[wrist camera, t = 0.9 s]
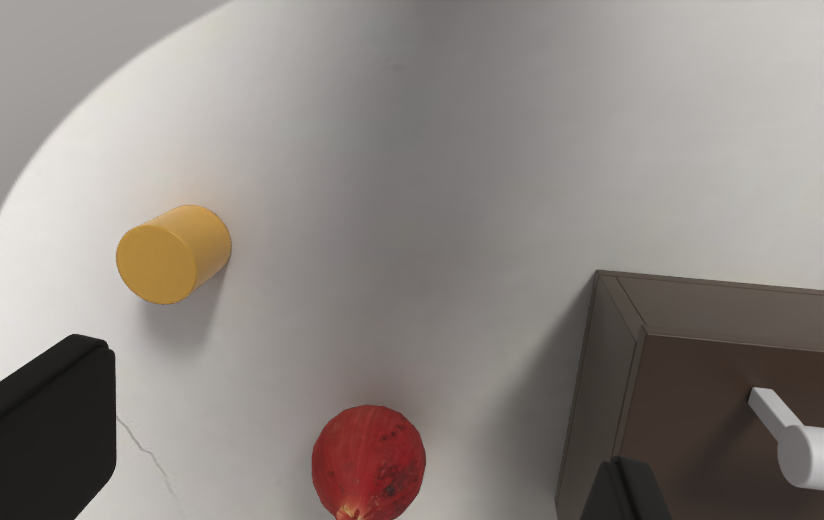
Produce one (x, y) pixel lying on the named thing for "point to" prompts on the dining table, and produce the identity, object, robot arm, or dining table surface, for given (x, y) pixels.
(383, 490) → the red fruit
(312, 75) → the dining table surface
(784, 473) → the wooden box lid
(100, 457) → the robot arm
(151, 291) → the pod
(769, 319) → the dark brown wooden crate
